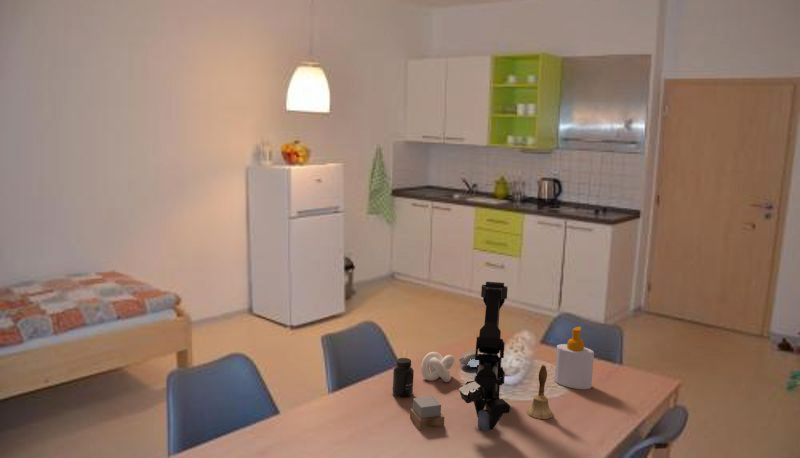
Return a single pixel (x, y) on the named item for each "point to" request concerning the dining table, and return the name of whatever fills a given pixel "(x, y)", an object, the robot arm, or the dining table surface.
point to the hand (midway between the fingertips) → (485, 423)
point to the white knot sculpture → (436, 366)
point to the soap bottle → (574, 363)
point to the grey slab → (426, 407)
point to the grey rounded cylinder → (483, 420)
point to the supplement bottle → (403, 378)
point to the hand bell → (540, 399)
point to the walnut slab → (426, 421)
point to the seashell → (467, 359)
